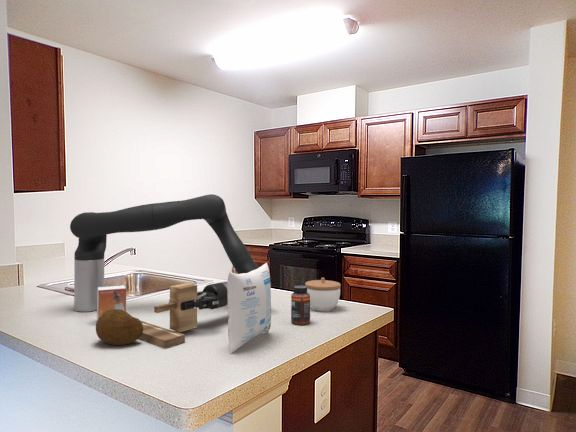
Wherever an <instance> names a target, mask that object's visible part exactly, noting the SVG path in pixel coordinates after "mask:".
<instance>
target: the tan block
mask: <svg viewBox="0 0 576 432" xmlns="http://www.w3.org/2000/svg"><path fill="white" fill-rule="evenodd" d="M197 292H198V285H197V284H193V283H181V284H175V285H170V286H169V300H170V303H169V302H168V303H163V304H160V305H156V306H154V307H153V310H154V311H153V312H154V313H156V314H159V313H163V312H167V311H169V330H172V331H175V332H178V333H181V332H186V331H188V330H191V329H195V328H198V308H196V309H193V308H191V309H187V310H181V302H185V301H189V300H193V299H197Z"/></svg>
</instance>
